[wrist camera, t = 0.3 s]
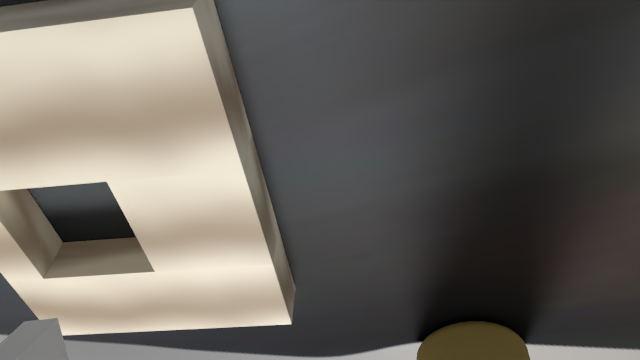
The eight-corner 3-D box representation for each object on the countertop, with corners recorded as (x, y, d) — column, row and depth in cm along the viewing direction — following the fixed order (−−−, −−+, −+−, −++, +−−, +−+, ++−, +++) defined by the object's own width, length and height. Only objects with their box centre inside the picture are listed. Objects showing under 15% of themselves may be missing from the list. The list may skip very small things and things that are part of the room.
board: (-132, 24, 22) (-178, 55, 20) (207, -22, 20) (192, 7, 18) (69, 299, 33) (52, 335, 31) (295, 286, 31) (291, 324, 30)
